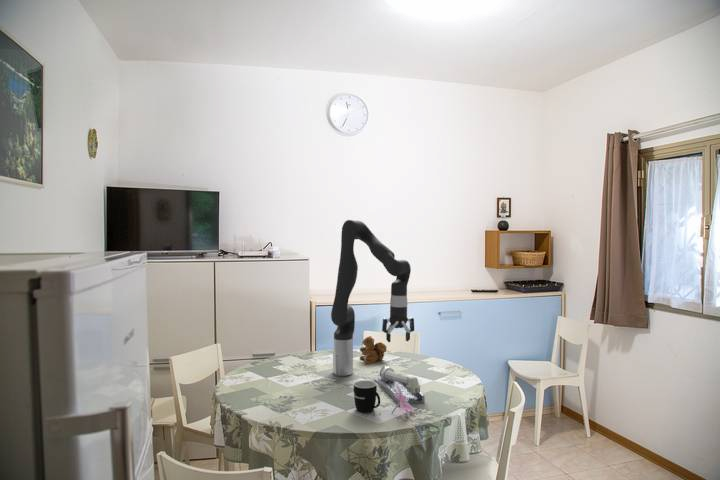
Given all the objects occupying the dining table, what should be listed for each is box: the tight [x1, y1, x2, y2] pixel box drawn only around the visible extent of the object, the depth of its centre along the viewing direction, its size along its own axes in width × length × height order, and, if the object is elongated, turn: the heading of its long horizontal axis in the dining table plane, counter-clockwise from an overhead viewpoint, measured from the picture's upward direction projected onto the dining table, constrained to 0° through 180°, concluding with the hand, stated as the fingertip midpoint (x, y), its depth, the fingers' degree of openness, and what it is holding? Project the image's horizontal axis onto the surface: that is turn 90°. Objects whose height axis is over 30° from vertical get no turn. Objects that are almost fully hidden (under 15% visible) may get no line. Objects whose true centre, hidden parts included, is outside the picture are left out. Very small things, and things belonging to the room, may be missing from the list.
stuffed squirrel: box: [359, 335, 388, 364], centre depth 242 cm, size 10×14×13 cm
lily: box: [391, 386, 415, 419], centre depth 170 cm, size 12×12×10 cm
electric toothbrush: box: [379, 369, 422, 393], centre depth 194 cm, size 5×7×25 cm
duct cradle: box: [374, 365, 426, 405], centre depth 196 cm, size 32×11×6 cm, turn 16°
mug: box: [353, 379, 381, 414], centre depth 173 cm, size 12×9×10 cm
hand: (398, 341), depth 200 cm, fingers open, 8 cm apart
